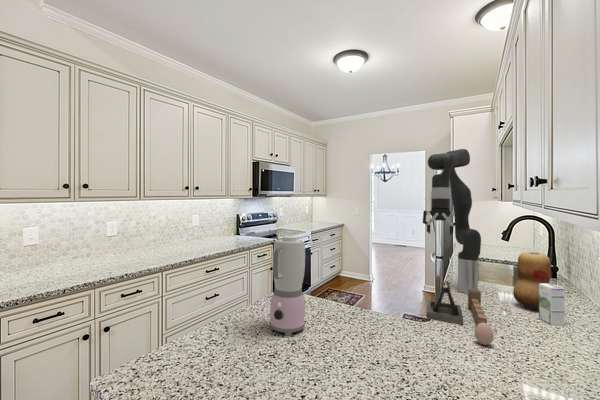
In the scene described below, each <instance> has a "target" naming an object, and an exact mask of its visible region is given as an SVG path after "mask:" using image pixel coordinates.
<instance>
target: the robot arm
mask: <svg viewBox="0 0 600 400" xmlns="http://www.w3.org/2000/svg"><path fill="white" fill-rule="evenodd" d="M470 155H471V154H470V152H469V150H467V149H466V148H459V149H455V150H450V151H447V152H444V153H434V154H431V155H430V156H429V157H428V159H427V166H428V167H429V168H430V169H431V170H433V171H435V170H436V171H437V170H443V171H442V172H441V173H438V174H435V175H432V177H431V192H430V197H431V198H430V210H423V213H422V215H423V216H422V224H424V225H426V232H427V233H428V234H431V223H432V222H433V221H442V222H443V221H446V222H447V223H448V224H449V235H450V236H452V234H454V235H455V236H454V237H455V239H456V242H457V243H458V244H459V245H462V250H461V251H460V252H458V254H457V291H458V292H459V293H462V292H463V293H464V294H467V293H468V289H471V290H479V257H480V255H481V248H482V247H481V246H482V237H481V233H480V232H479V230H477V229H473V228H471V227H470V222H469V216H470V214H471V210H472V208H473V207H472V206H473V200H472V192H471V189H470V188H469V187H468V185H467V184H466V183H465V182H463V180H461V178H460V177H459V175H458V174H457V171H456V168H461V167H466V166H468V165H469V164H470V162H471V156H470ZM450 195H451V196H450ZM450 200H451V203H452V207H453V208H452V209H453V211H451V209H450V208H451V207H450V205H451V203H450ZM429 215H430V216H432V217H431V218H430V219H429V220H428V221H427V216H429ZM450 215H452V217H454V222H452V221H451V220H450V218H449V217H450ZM463 293H462V294H463Z"/></svg>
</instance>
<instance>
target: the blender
mask: <svg viewBox="0 0 600 400" xmlns="http://www.w3.org/2000/svg"><path fill="white" fill-rule="evenodd" d="M305 268H306V242H305V240H302V239H298V237H297V236H292V235H287V236H282V239H275V240H274V242H273V252H272V274H273V281H274V290H273V293H272V296H271V297H270V307H269V308H270V309H269V311H270V314H269V315H270V316H269V317H270V318H269V319H270V320H269V330H270V331H271V332H274V331H276V332H279V333H284V336H285V337H291V336H292V335H293V333H295V332H299V331H301V330H303V329H304V328H305V325H306V320H305V319H306V315H305V314H306V298H305V295H304V292H303V290H302V288H303V283H304V277H305Z"/></svg>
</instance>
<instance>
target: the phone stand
mask: <svg viewBox="0 0 600 400" xmlns="http://www.w3.org/2000/svg"><path fill="white" fill-rule="evenodd" d="M440 284H441V288H440V290H439V292H438V294H437V296H436V299H435V300H434V301H435V303H434V306H433V312H439V313H445V314H451V315H457V316H458V312H457V309H456V306H455V304H456V303H455V302H454V298H453V295H452V293H451V286H450V282H449V281H447V280H446V283H445V280H441V283H440ZM445 285H447V287H445ZM444 294H447V296H448V300H449V304H451V308H452V310H450V309H444V308H439V307H440V304H441V302H442V300H443V298H444Z"/></svg>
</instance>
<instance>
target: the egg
mask: <svg viewBox="0 0 600 400" xmlns="http://www.w3.org/2000/svg"><path fill="white" fill-rule="evenodd" d="M474 337H475V339H476V341H477V342H479V344H481V345H482V346H483V345H484V346H488V345H491V344H492V342H493V341H494V332H493V329H492V328H491V326H490V325H489V324H488V323H487V324H486V323H479V324H478V325H476V326H475V327H474Z"/></svg>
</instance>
